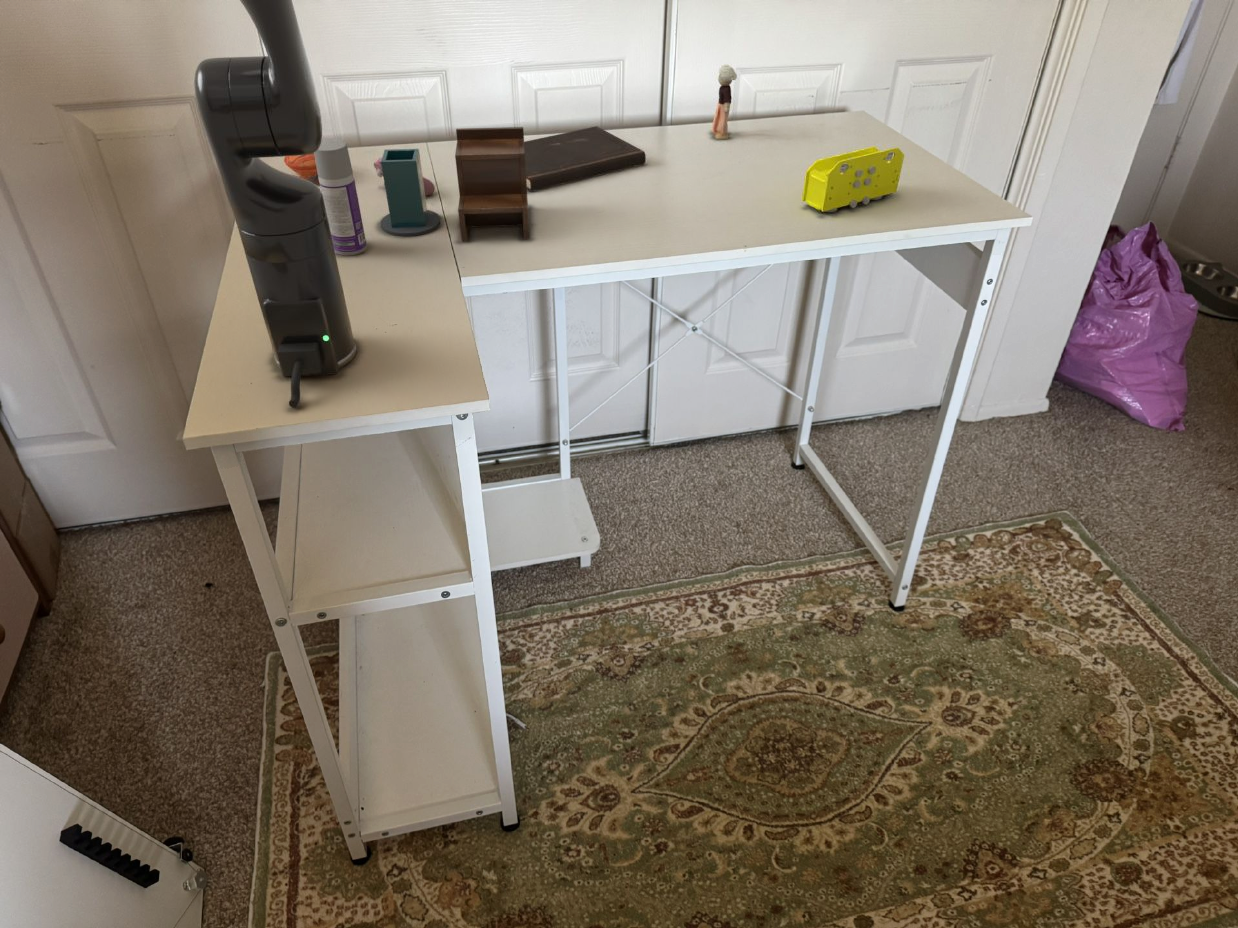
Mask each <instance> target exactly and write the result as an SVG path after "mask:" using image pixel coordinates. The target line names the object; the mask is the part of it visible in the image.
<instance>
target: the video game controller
mask: <svg viewBox="0 0 1238 928" xmlns="http://www.w3.org/2000/svg"><path fill="white" fill-rule="evenodd" d="M382 157H383V156H382ZM382 157H378V159H377V160H376V161H375V162H374V163H373V167H374V168H375V173H376V175H377V176H378V177H379V178H382V177H383V172H382V166H381V160H382ZM423 183H424V190H425V196H431V195H433V194H434V193H435V189H436V188H435V184H434V183H433V181H431V180H430V179H428V178H426V177H424V176H423Z"/></svg>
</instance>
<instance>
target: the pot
mask: <svg viewBox="0 0 1238 928" xmlns="http://www.w3.org/2000/svg"><path fill="white" fill-rule="evenodd" d="M283 162H284V164H285V165H286V166H287V168H289V169H290V170H292V171H293V172H294V173H296V174H298V175H299V177H300V178H303V179H306V180H308V181H309V177H312V176H314V177H315V176H318V172H317V167H316V162H315V156H314V153H312V154H308V155H299V156H284V158H283Z"/></svg>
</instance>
